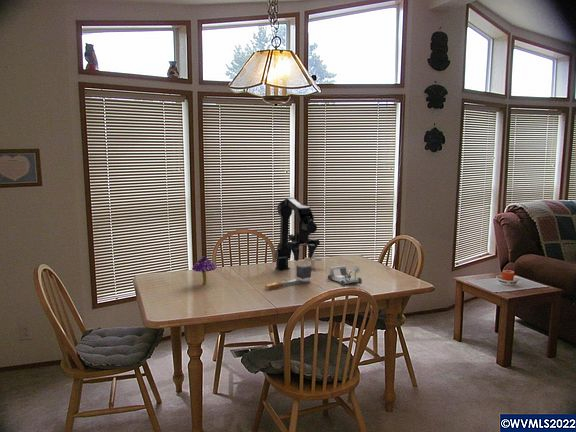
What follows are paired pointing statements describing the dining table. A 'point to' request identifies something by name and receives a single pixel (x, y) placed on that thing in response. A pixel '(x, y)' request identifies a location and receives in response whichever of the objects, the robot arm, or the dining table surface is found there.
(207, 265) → the purple mushroom
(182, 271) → the dining table surface
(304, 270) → the dark grey block
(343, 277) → the toy car
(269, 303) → the dining table surface
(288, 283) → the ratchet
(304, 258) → the pipe connector
